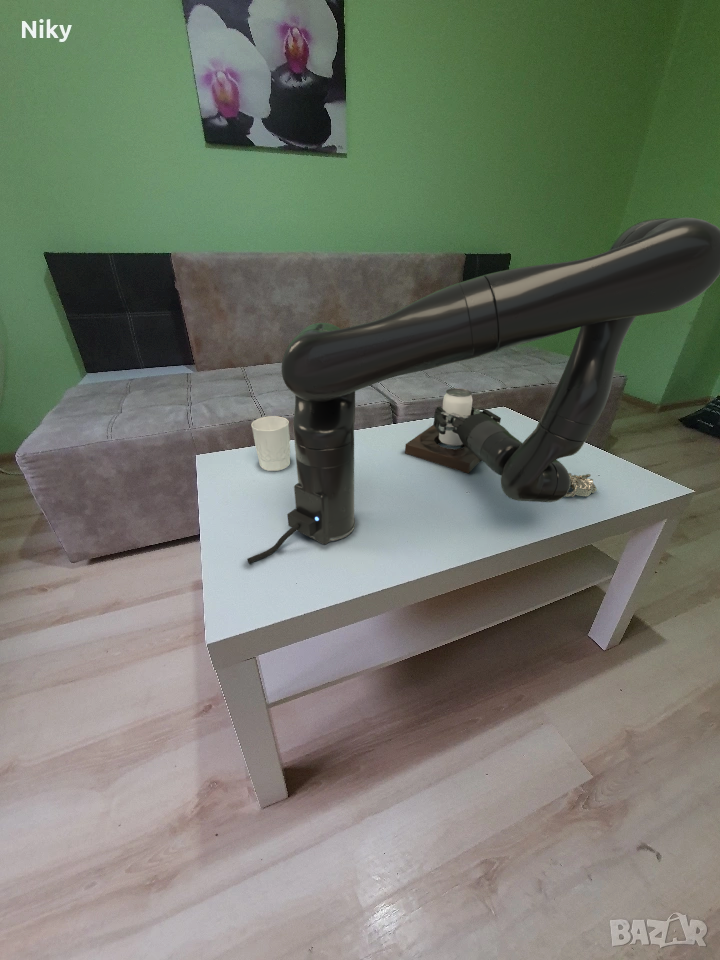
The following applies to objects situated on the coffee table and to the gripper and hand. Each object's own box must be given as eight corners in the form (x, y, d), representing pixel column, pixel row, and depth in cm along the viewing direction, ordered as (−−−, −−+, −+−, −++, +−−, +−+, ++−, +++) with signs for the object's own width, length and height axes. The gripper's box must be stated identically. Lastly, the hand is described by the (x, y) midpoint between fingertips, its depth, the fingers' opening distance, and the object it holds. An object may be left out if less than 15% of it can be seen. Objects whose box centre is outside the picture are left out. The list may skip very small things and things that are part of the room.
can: (438, 434, 95) (443, 386, 89) (464, 436, 95) (472, 388, 88) (439, 445, 90) (444, 395, 84) (467, 447, 89) (475, 397, 83)
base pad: (468, 473, 84) (470, 463, 83) (404, 453, 92) (405, 444, 91) (493, 447, 95) (495, 438, 94) (434, 431, 103) (435, 422, 102)
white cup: (289, 453, 92) (285, 414, 86) (295, 469, 85) (291, 427, 80) (255, 458, 89) (249, 418, 84) (259, 475, 83) (252, 432, 78)
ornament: (576, 479, 82) (581, 464, 80) (602, 497, 77) (608, 481, 75) (545, 485, 80) (549, 470, 78) (569, 503, 75) (574, 487, 73)
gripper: (522, 418, 76) (482, 391, 90) (454, 424, 73) (424, 396, 87) (514, 452, 80) (477, 422, 94) (449, 459, 77) (421, 427, 91)
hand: (451, 409), depth 91 cm, fingers closed on can, 6 cm apart
